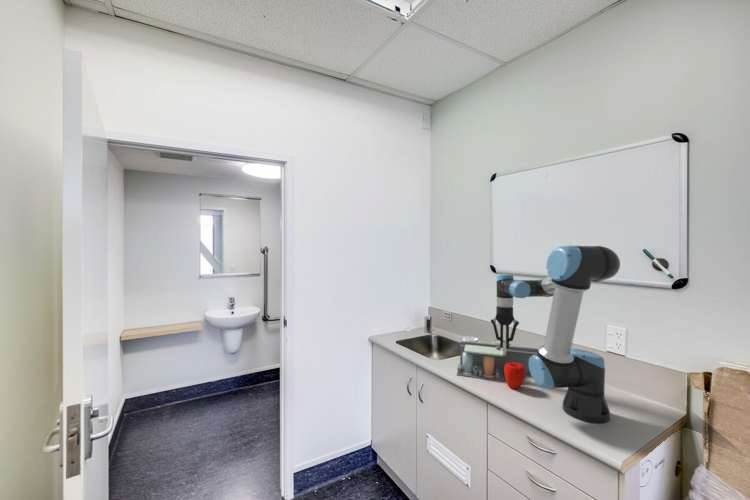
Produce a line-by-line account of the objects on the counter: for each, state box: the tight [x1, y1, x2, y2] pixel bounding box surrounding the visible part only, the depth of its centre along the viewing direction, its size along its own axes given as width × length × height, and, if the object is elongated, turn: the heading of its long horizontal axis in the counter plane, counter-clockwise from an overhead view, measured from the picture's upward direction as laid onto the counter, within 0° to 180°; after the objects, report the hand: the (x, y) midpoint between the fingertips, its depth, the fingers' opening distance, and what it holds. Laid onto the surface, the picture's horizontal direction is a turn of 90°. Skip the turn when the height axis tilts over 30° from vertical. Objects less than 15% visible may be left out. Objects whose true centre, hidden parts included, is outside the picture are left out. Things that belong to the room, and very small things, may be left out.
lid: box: [464, 345, 503, 357], centre depth 163 cm, size 11×18×2 cm, turn 70°
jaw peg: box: [483, 354, 494, 376], centre depth 159 cm, size 5×5×9 cm
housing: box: [456, 340, 539, 382], centre depth 160 cm, size 17×39×12 cm, turn 70°
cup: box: [462, 336, 483, 343], centre depth 189 cm, size 8×12×10 cm
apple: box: [503, 362, 526, 390], centre depth 146 cm, size 9×9×11 cm
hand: (504, 354), depth 157 cm, fingers closed
